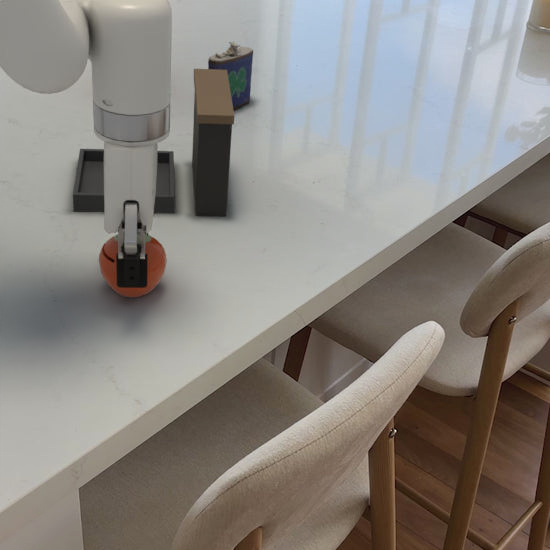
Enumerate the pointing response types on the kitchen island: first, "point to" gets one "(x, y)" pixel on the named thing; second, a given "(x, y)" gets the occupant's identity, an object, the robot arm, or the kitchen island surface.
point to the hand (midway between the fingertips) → (133, 263)
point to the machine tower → (211, 141)
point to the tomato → (154, 265)
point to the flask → (236, 72)
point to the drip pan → (92, 182)
